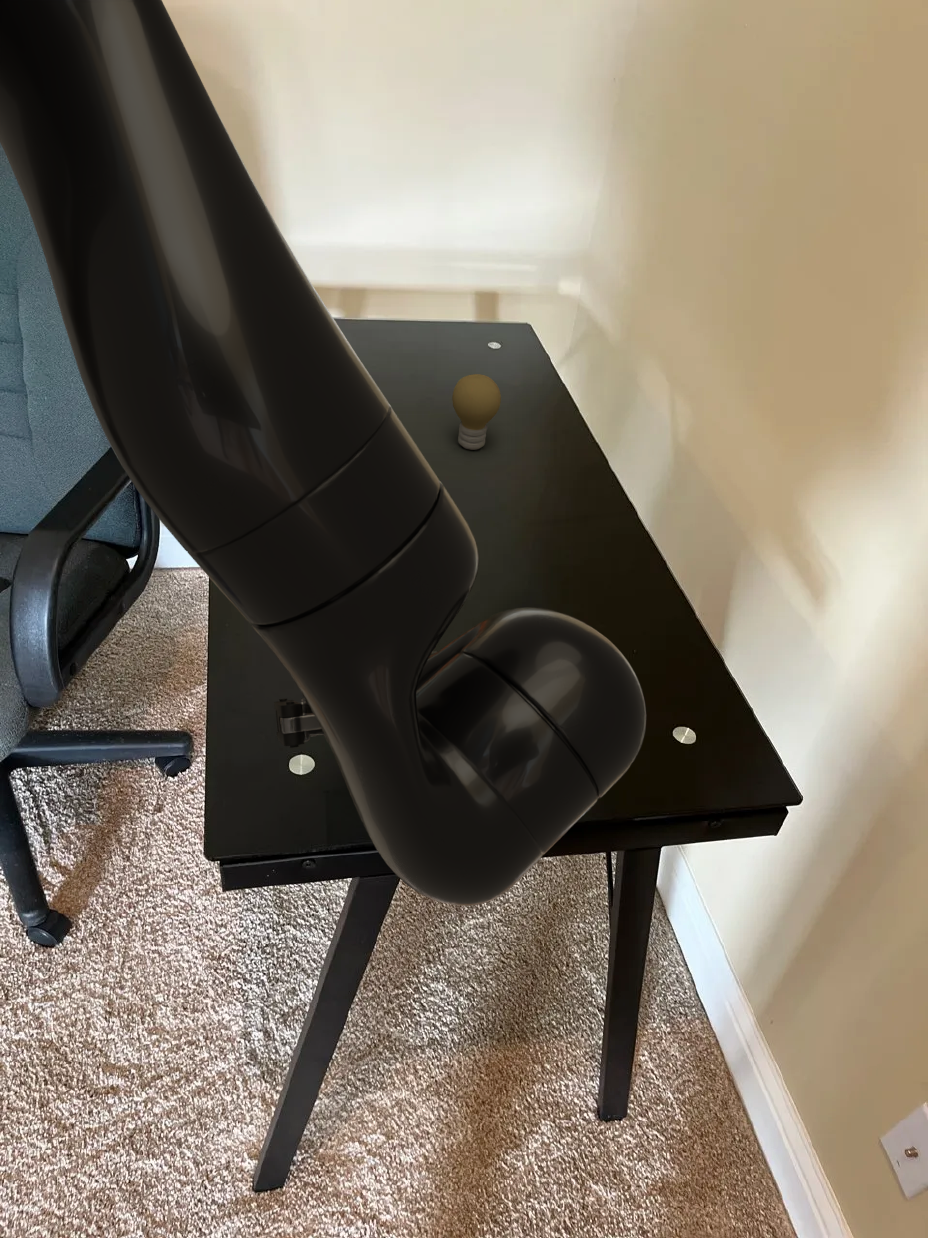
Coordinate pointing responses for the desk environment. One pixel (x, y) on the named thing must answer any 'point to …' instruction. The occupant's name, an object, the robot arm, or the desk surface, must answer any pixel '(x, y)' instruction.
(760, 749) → the desk surface
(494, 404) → the light bulb
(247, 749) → the desk surface
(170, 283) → the robot arm
